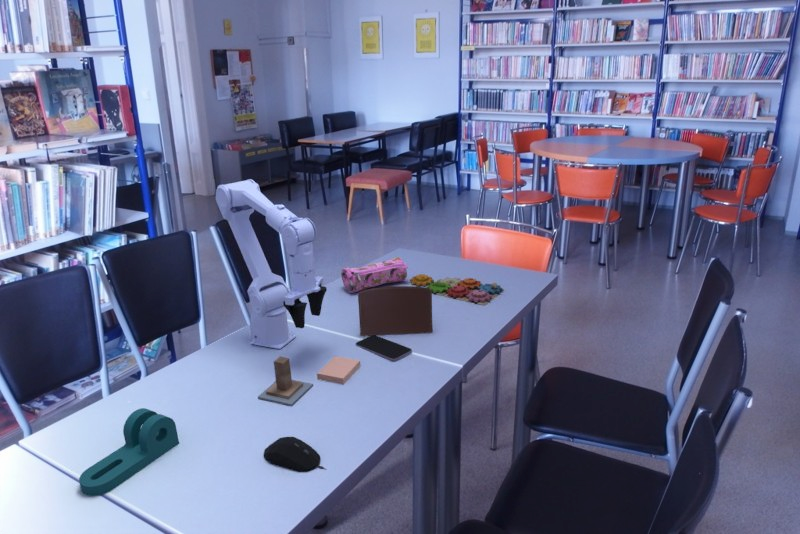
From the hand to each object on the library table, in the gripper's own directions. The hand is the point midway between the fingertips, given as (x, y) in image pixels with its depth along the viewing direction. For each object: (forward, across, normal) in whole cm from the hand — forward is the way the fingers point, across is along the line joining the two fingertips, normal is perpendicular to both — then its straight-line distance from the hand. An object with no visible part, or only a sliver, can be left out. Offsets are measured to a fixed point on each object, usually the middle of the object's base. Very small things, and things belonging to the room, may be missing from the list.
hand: (308, 321), depth 144 cm
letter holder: (+11, +24, -13) cm, 29 cm away
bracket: (+11, -48, +12) cm, 51 cm away
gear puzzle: (+11, +57, -19) cm, 61 cm away
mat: (+10, -16, -3) cm, 19 cm away
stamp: (+10, -16, -2) cm, 19 cm away
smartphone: (+11, +11, -15) cm, 22 cm away
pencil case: (+11, +50, +6) cm, 52 cm away
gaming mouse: (+12, -35, -18) cm, 41 cm away
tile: (+10, -4, -6) cm, 12 cm away
